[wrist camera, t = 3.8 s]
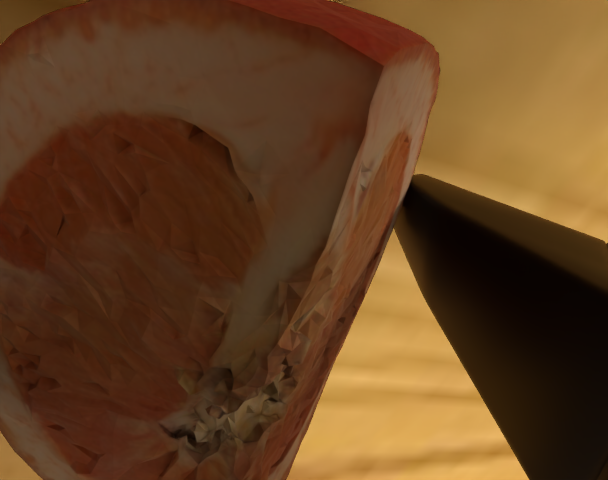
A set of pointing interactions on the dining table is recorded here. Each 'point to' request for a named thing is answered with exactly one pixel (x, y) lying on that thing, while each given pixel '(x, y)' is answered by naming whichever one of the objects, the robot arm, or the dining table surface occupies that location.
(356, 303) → the fruit slice
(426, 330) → the dining table surface
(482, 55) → the dining table surface
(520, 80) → the dining table surface
